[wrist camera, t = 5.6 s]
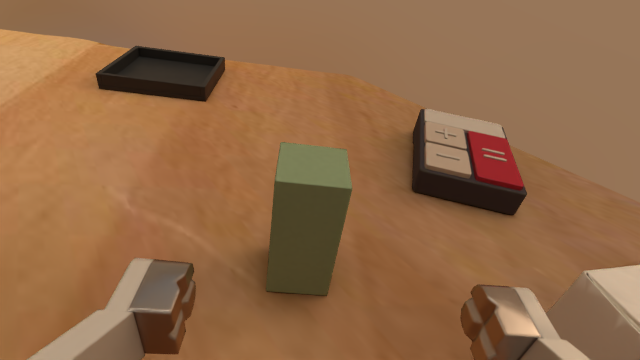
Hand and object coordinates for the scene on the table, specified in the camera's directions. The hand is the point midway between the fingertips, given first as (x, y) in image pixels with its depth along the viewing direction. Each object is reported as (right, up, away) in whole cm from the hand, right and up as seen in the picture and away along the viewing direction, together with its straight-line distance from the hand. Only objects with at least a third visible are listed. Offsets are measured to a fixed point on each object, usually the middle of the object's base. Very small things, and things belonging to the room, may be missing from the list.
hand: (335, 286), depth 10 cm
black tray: (-23, +19, +44) cm, 53 cm away
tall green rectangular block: (-2, -4, +18) cm, 18 cm away
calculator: (+16, +4, +34) cm, 38 cm away
